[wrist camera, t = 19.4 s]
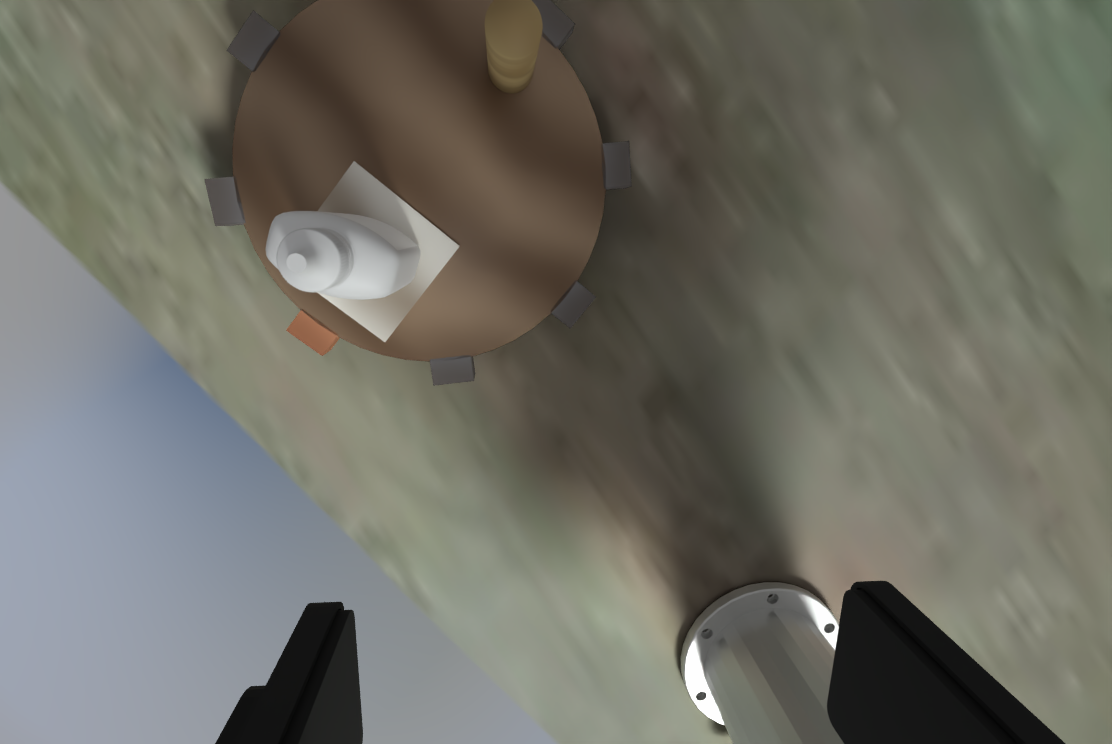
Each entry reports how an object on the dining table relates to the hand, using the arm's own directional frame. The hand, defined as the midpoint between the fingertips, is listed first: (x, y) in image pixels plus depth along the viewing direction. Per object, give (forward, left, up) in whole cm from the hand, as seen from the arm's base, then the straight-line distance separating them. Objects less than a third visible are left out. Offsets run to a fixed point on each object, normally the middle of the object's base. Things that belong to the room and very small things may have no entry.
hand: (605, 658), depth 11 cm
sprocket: (+10, +6, -27) cm, 29 cm away
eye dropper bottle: (+6, +9, -25) cm, 27 cm away
